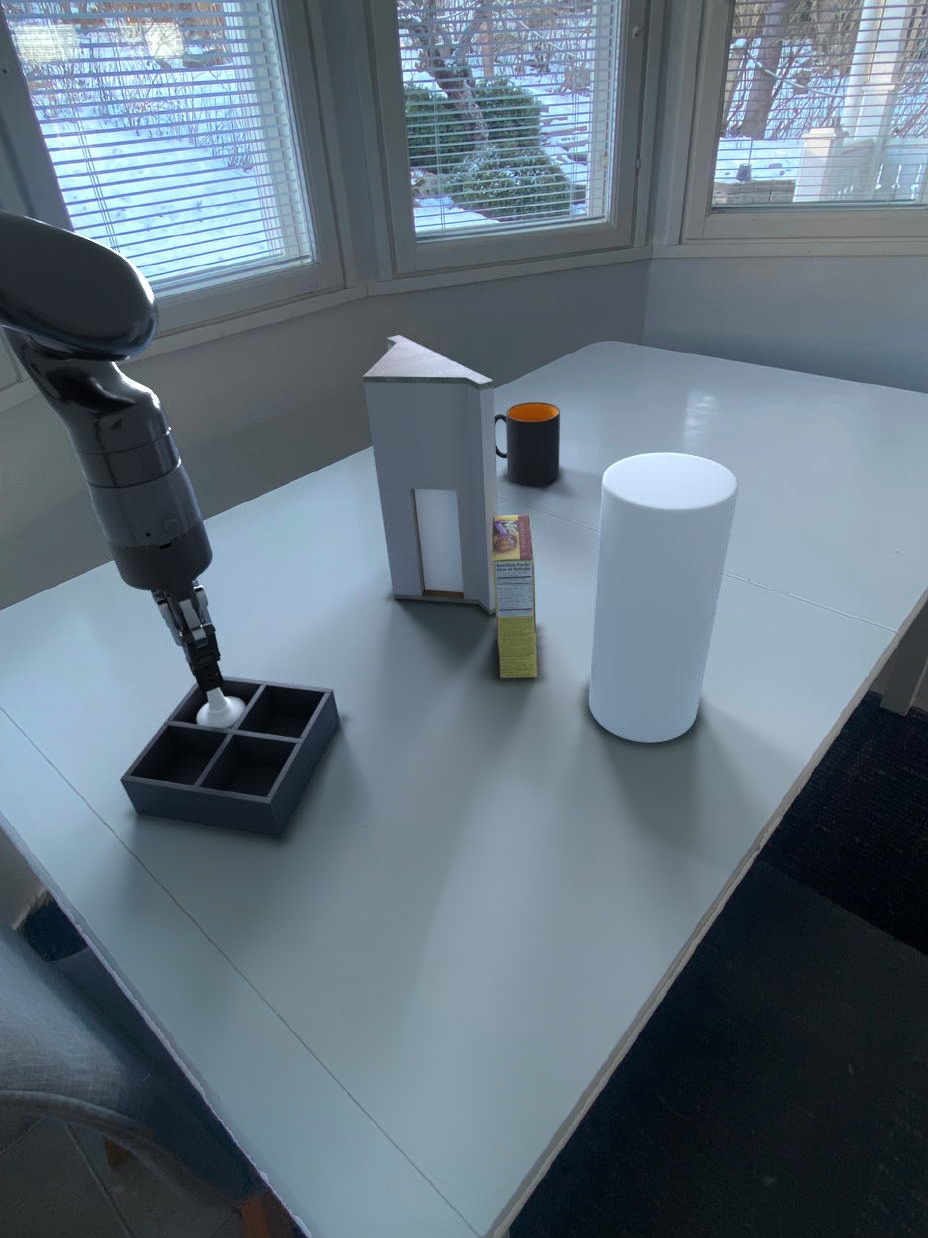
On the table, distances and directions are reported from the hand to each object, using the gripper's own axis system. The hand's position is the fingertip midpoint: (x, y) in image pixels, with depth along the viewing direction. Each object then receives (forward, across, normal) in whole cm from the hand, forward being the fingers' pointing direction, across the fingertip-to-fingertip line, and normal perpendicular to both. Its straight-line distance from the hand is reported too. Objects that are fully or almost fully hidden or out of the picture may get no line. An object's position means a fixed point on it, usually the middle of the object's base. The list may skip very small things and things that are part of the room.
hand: (208, 679), depth 69 cm
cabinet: (+8, -12, +30) cm, 33 cm away
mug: (+8, -31, +59) cm, 67 cm away
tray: (+8, +5, 0) cm, 9 cm away
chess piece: (+5, 0, 0) cm, 5 cm away
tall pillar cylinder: (+8, +20, +37) cm, 43 cm away
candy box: (+8, +6, +31) cm, 33 cm away
